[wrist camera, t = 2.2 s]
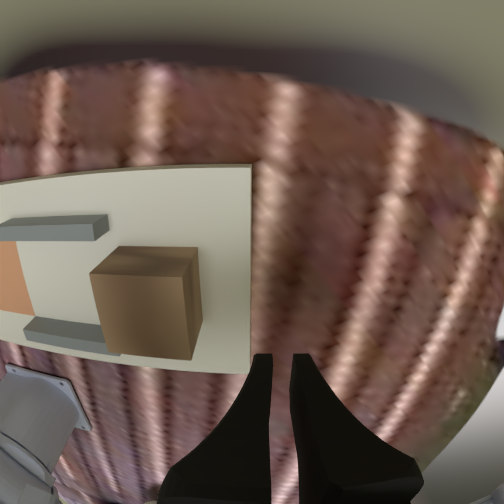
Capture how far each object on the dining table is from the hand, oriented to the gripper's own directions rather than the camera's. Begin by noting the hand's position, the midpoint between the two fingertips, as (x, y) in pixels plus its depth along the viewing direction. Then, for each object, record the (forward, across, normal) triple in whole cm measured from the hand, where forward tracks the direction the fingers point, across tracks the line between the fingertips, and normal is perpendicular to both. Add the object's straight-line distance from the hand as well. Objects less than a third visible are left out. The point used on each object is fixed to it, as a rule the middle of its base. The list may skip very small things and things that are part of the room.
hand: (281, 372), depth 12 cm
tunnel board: (+9, +18, 0) cm, 20 cm away
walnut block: (+7, +7, 0) cm, 10 cm away
